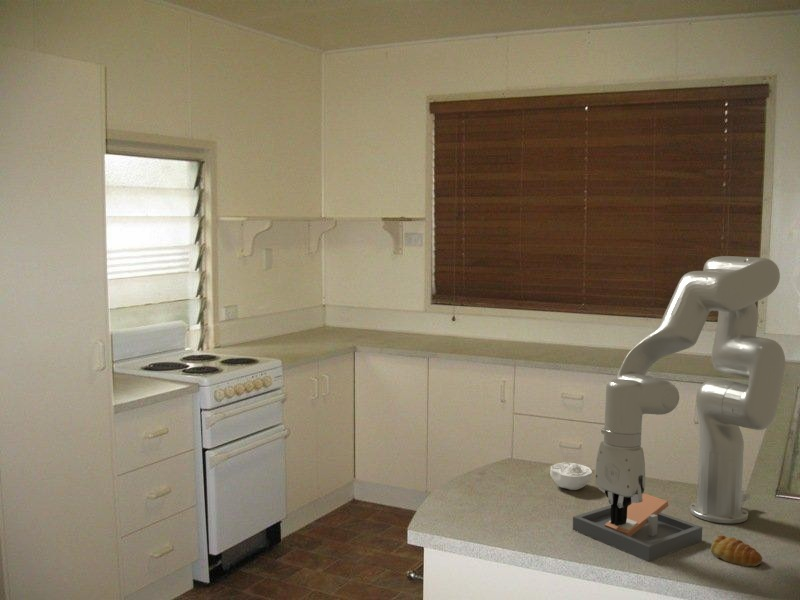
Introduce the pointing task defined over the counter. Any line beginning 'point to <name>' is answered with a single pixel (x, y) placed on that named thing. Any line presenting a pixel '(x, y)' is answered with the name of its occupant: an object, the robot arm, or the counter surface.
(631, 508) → the rocker
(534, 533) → the counter surface
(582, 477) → the cell model
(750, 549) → the pastry
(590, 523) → the breaker panel
